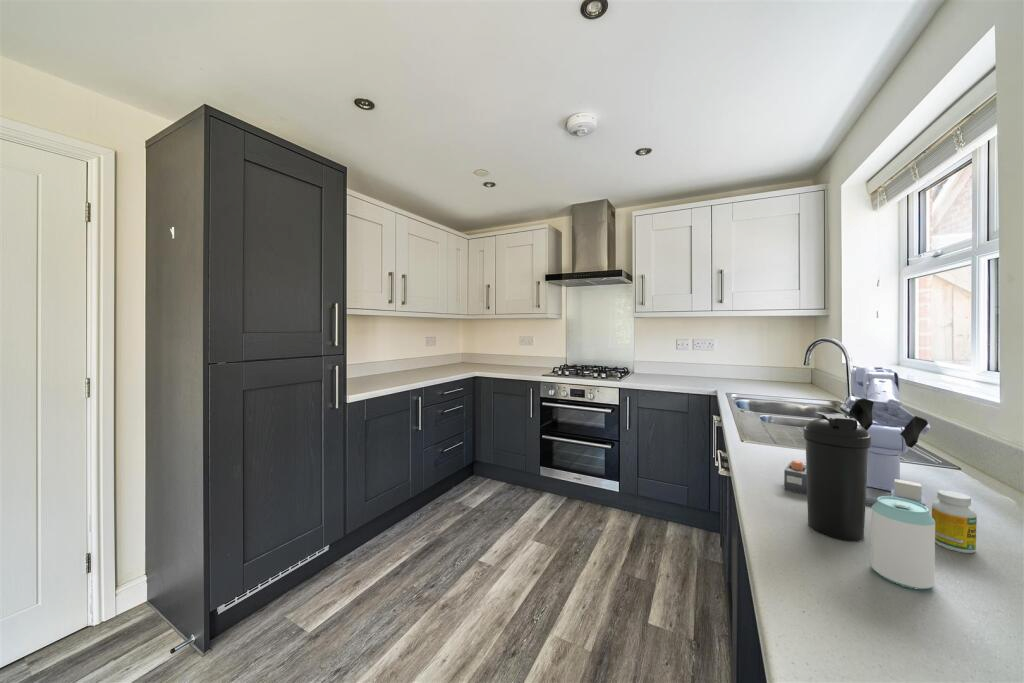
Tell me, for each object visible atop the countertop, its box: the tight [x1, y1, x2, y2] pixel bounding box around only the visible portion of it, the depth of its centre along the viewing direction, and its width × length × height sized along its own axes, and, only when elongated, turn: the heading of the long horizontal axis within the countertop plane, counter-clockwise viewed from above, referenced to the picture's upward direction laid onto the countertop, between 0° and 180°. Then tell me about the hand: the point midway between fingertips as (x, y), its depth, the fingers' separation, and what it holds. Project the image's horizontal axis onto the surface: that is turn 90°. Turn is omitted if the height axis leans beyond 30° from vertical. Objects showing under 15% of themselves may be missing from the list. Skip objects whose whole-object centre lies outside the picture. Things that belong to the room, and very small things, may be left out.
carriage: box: [890, 479, 926, 507], centre depth 82 cm, size 6×5×6 cm
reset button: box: [790, 460, 804, 471], centre depth 96 cm, size 2×2×4 cm
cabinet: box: [783, 462, 807, 496], centre depth 96 cm, size 8×6×5 cm
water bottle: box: [802, 411, 871, 542], centre depth 75 cm, size 10×10×23 cm
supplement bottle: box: [931, 489, 978, 554], centre depth 69 cm, size 5×5×10 cm
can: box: [870, 495, 936, 590], centre depth 60 cm, size 7×7×12 cm
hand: (889, 435), depth 82 cm, fingers open, 7 cm apart
